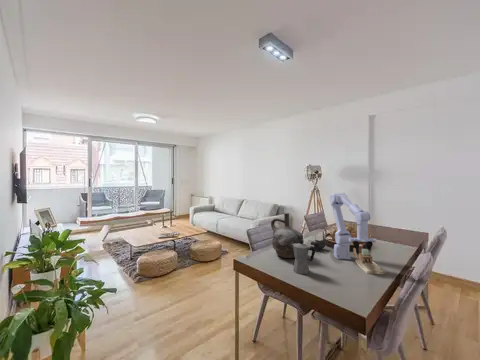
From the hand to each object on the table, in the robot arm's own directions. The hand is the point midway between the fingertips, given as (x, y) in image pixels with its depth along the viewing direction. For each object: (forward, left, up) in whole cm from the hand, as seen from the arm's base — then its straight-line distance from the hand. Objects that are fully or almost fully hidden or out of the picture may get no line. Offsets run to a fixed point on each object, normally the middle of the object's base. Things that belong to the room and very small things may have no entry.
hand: (362, 253), depth 139 cm
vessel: (-44, +15, -9) cm, 47 cm away
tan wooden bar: (0, 0, -3) cm, 3 cm away
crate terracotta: (0, +4, +1) cm, 4 cm away
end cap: (-20, +30, -9) cm, 37 cm away
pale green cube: (0, -4, +1) cm, 4 cm away
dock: (+4, 0, -8) cm, 9 cm away
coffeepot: (-37, -11, -9) cm, 39 cm away
